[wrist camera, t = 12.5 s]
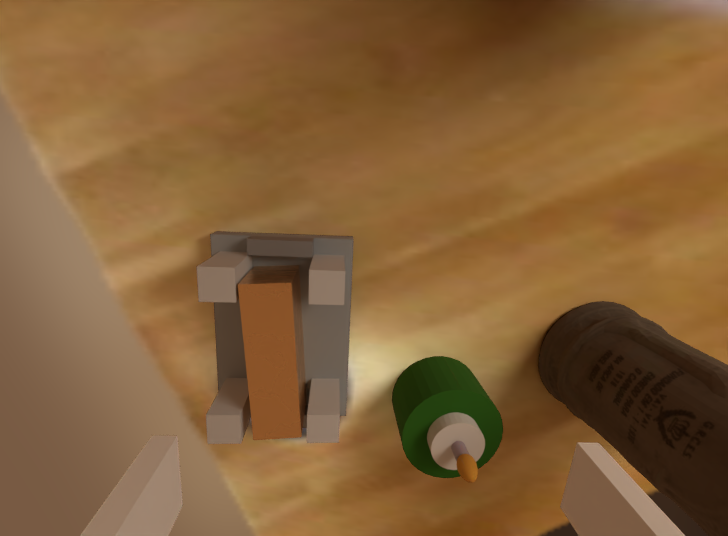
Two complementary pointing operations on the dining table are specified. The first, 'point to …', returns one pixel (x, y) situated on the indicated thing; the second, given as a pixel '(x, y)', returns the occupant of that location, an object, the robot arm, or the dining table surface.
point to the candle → (445, 418)
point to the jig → (319, 319)
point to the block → (274, 350)
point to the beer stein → (647, 402)
